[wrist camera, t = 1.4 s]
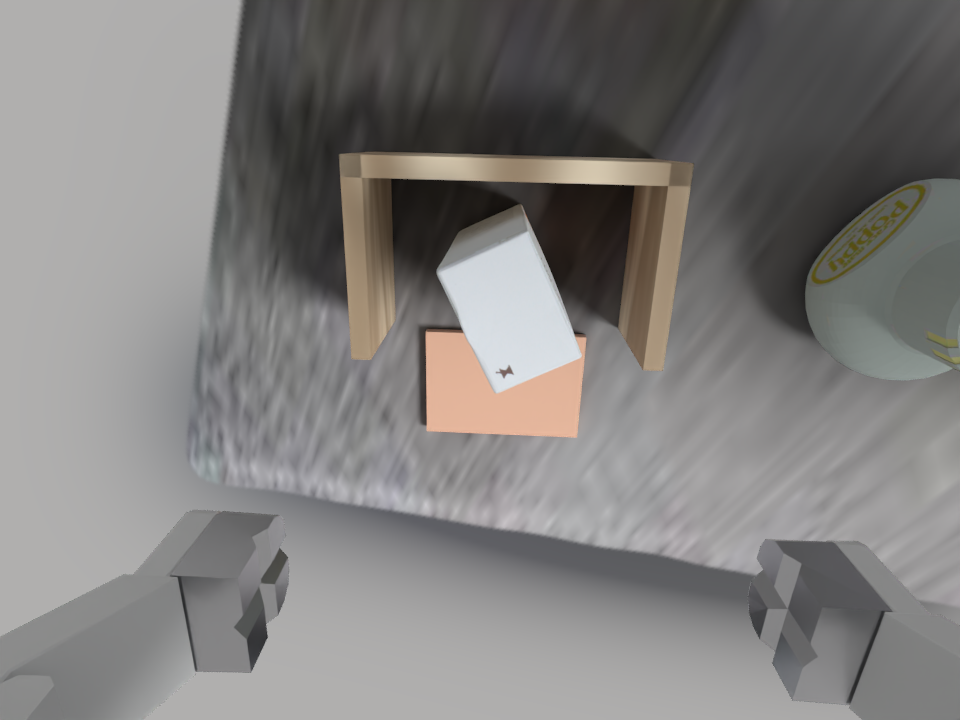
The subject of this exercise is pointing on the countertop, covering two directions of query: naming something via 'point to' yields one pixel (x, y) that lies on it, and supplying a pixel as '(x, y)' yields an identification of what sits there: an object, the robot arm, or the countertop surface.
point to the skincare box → (507, 300)
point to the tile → (478, 409)
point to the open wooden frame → (654, 193)
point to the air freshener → (893, 285)
